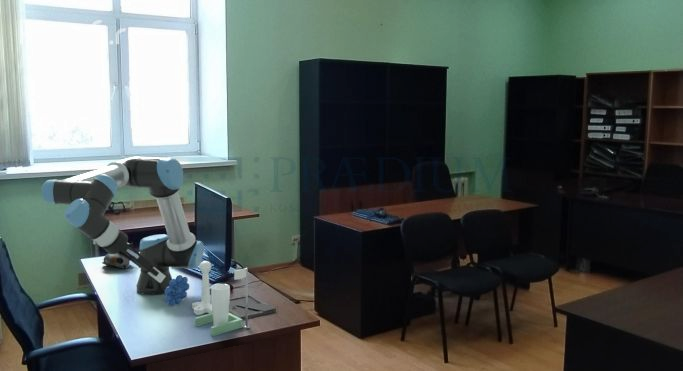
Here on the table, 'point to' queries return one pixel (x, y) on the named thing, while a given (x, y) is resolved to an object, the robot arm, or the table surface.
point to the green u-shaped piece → (231, 325)
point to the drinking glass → (220, 303)
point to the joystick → (204, 291)
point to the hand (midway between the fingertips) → (162, 279)
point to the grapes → (176, 290)
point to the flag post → (244, 274)
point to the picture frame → (249, 306)
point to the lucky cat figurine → (116, 260)
